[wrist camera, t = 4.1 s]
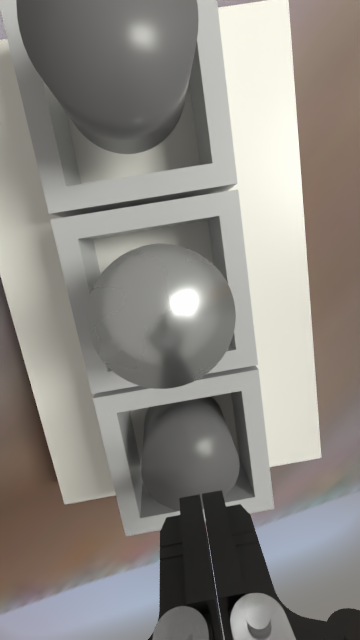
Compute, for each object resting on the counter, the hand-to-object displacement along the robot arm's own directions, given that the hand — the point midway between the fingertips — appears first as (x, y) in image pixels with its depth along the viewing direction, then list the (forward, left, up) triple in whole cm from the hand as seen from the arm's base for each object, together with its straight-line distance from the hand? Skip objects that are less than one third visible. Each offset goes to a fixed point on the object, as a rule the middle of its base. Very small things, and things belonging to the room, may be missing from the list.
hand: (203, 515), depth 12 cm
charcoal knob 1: (0, -14, -3) cm, 14 cm away
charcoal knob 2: (0, 0, -6) cm, 6 cm away
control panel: (0, -7, -8) cm, 11 cm away
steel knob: (0, -7, -3) cm, 8 cm away
